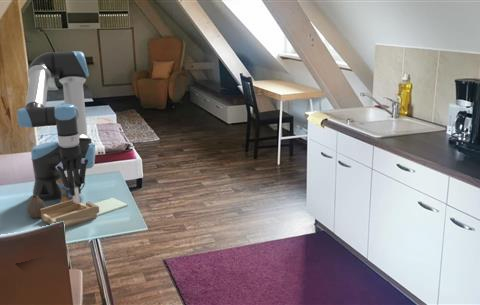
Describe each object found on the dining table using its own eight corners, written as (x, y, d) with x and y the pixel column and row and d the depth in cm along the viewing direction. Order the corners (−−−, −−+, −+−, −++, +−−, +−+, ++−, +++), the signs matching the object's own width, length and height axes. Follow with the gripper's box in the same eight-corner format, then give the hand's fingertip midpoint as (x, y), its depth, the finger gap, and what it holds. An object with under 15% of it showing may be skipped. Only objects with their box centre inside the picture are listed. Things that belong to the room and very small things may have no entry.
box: (41, 220, 188) (40, 209, 186) (79, 208, 199) (78, 197, 197) (58, 230, 178) (56, 218, 177) (96, 217, 189) (95, 206, 188)
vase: (28, 221, 187) (25, 200, 185) (28, 215, 193) (25, 194, 191) (47, 218, 190) (44, 197, 187) (46, 212, 196) (43, 192, 193)
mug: (65, 209, 198) (61, 185, 195) (55, 203, 204) (52, 180, 201) (91, 201, 206) (89, 178, 203) (81, 196, 212) (78, 173, 209)
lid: (82, 210, 198) (81, 202, 197) (113, 200, 208) (112, 192, 207) (96, 217, 190) (95, 209, 189) (127, 207, 200) (127, 199, 199)
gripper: (57, 150, 176) (65, 209, 183) (89, 143, 185) (96, 199, 192) (48, 146, 181) (56, 204, 188) (80, 139, 190) (86, 195, 197)
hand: (76, 202), depth 190 cm, fingers closed
